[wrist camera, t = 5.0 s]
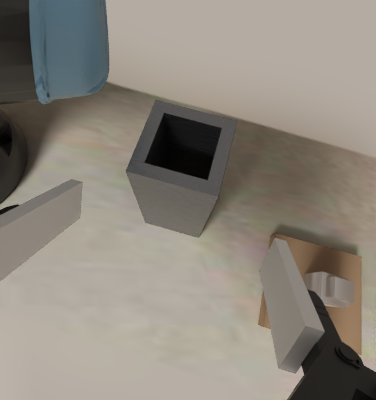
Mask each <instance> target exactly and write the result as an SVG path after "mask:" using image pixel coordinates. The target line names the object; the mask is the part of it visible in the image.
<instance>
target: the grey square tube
mask: <svg viewBox="0 0 376 400" xmlns="http://www.w3.org/2000/svg"><path fill="white" fill-rule="evenodd" d="M236 124H237V121H234V120H230V119H226V118H223V117H219V116H215V115H211V114H208V113H204V112H200V111H196V110H192V109H189V108H185V107H181V106H177V105H173V104H170V103H166V102H162V101H158V100H155V103H154V105H153V108H152V110H151V112H150V115H149V117H148V119H147V122H146V124H145V127H144V129H143V131H142V134H141V136H140V139H139V141H138V143H137V146H136V148H135V150H134V153H133V155H132V158H131V160H130V162H129V165H128V167H127V169H126V173H127V176H128V178H129V181H130V183H131V186H132V189H133V191H134V194H135V196H136V199H137V202H138V204H139V207H140V209H141V212H142V215H143V217H144V220H145V222H146V223H149V224H152V225H156V226H159V227H163V228H166V229H170V230H173V231H177V232H180V233H184V234H187V235H191V236H194V237H198V238H199V236H200V234H201V232H202V230H203V228H204V225H205V223H206V221H207V219H208V217H209V215H210V213H211V211H212V209H213V207H214V205H215V203H216V201H217V199H218V197H219V193H220V188H221V184H222V180H223V176H224V172H225V168H226V164H227V160H228V156H229V152H230V148H231V144H232V140H233V136H234V132H235V128H236Z"/></svg>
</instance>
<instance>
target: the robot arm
mask: <svg viewBox="0 0 376 400" xmlns="http://www.w3.org/2000/svg"><path fill="white" fill-rule="evenodd" d="M108 73H109V44H108V27H107V15H106V2H105V0H0V104H9V103H21V102H33V101H39V102H41V103H42V104H49V103H51V102H52V101H53V100H57V99H65V98H73V97H80V96H88V95H92V94H94V93H96V92H98V91H99V90H100V89H101V88H102V87H103V86H104V84H105V83H106V80H107V78H108ZM26 162H27V144H26V140H25V137H24V135H23V133H22V132H21V130H20V129H19V128H18V126H17V125H16V124H15V123H14V122H13V121H12V120H11V119H10V118H9V117H8V116H7V115H6V114H5V113H4V112H3V111H2V110H0V203H1V202H2V201H3V200H4V199H5V198H6V197H7V196H8V195H9V194H10V193H11V191H12V190H13V189H14V188H15V186H16V185H17V183H18V182H19V180H20V178H21V176H22V174H23V172H24V169H25V166H26ZM81 197H82V182H80V181H76V180H73V179H71V180H69V181H67V182H65V183H63V184H61V185H59V186H57V187H55V188H53V189H51V190H49V191H47V192H45V193H43V194H41V195H39V196H37V197H35V198H33V199H31V200H29V201H27V202H25V203H23V204H21V205H18V204H17V205H13V206H9V207H5V208H3V209H1V210H0V281H1V280H3V279H4V278H5V277H6V276H8V275H9V274H10V273H11V272H13V271H14V270H15V269H16V268H18V267H19V266H20V265H21V264H23V263H24V262H25V261H26V260H28V259H29V258H30V257H31V256H33V255H34V254H35V253H36V252H38V251H39V250H40V249H41V248H43V247H44V246H45V245H46V244H48V243H49V242H50V241H51V240H53V239H54V238H55V237H57V236H58V235H59V234H60V233H62V232H63V231H64V230H65V229H67V228H68V227H69V226H70V225H72V224H73V223H74V222H75V221H77V220H78V219H79V218H80V212H81ZM259 271H260V276H261V281H262V286H263V291H264V297H265V302H266V307H267V312H268V317H269V322H270V328H271V333H272V338H273V343H274V348H275V354H276V359H277V364H278V368H279V369H282V370H286V371H289V372H292V373H295V374H296V372H297V371H298V369H299V368H300V366H301V365H302V368H303V372H304V376H303V377H302V379H301V380H300V382H299V383H298V384H297V386H296V387H295V388H294V391H293V392H292V393H291V395H290V396H289V398H288V399H287V400H376V372H374V371H373V370H371V369H369V368H367V367H366V366H364V365H363V362H362V360H361V358H360V357H359V355H358V354H357V353H356V352H355V351H354V350H353V349H352V348H351V347H350V346H348V345H347V344H345V343H344V342H342V341H341V338H340V336H339V334H338V332H337V330H336V328H335V326H334V324H333V322H332V320H331V318H330V317H329V313H328V311H327V310H326V307H325V305H324V303H323V301H322V299H321V298H320V297H319V296H318V295H317V294H316V292H315V291H311V290H308V289H307V288H306V286H305V284H304V281H303V279H302V277H301V274H300V272H299V270H298V267H297V265H296V263H295V260H294V258H293V256H292V253H291V251H290V249H289V246H288V244H287V241H285V240H281V239H278V238H274V240H273V242H272V244H271V246H270V249H269V251H268V253H267V255H266V257H265V259H264V262H263V264H262V266H261V268H260V270H259Z"/></svg>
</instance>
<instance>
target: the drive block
mask: <svg viewBox="0 0 376 400" xmlns="http://www.w3.org/2000/svg"><path fill="white" fill-rule="evenodd" d="M274 238H278V239H281V240H285V241H287V244H288V246H289V249H290V251H291V253H292V256H293V258H294V260H295V263H296V265H297V267H298V270H299V272H300V274H301V277H302V279H303V281H304V284H305V286H306V288H307V289H308V290H311V291H315V292H316V294H317V295H318V296H319V297H320V298H321V299H322V301H323V303H324V305H325V307H326V310H327V311H328V313H329V317H330V318H331V320H332V322H333V324H334V326H335V328H336V330H337V332H338V334H339V336H340V338H341V341H342V342H344V343H345V344H347V345H348V346H350V347H351V348H352V349H353V350H354V351H355V352H356V353H357V354H359V355H361V256H357V255H353V254H350V253H346V252H342V251H339V250H335V249H331V248H328V247H324V246H320V245H317V244H313V243H309V242H306V241H302V240H298V239H295V238H291V237H288V236H284V235H280V234H277V233H276V234H274V235H273V236H271V237H270V244H269V249H270V246H271V244H272V242H273V240H274ZM258 325H260V326H263V327H266V328H269V329H271V328H270V322H269V317H268V312H267V307H266V302H265V297H264V291H263V294H262V301H261V308H260V315H259V322H258Z"/></svg>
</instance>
